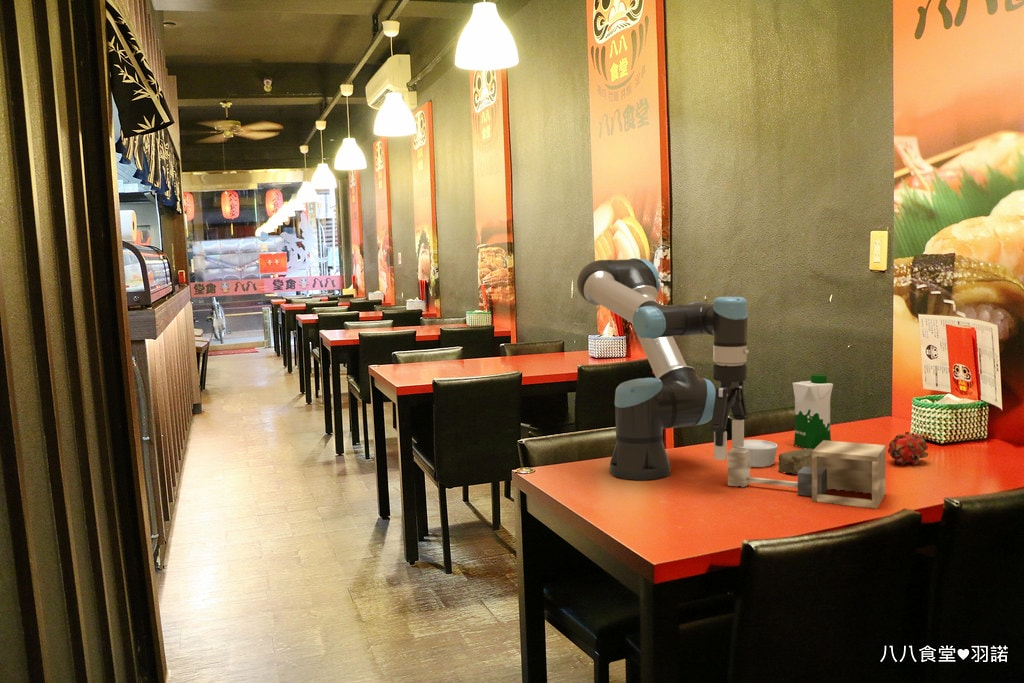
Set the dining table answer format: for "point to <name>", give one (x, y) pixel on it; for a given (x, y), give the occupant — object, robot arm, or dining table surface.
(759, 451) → the ramekin
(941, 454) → the dining table surface
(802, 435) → the milk carton
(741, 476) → the tethered block
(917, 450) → the dragon fruit
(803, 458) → the stone block
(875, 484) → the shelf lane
